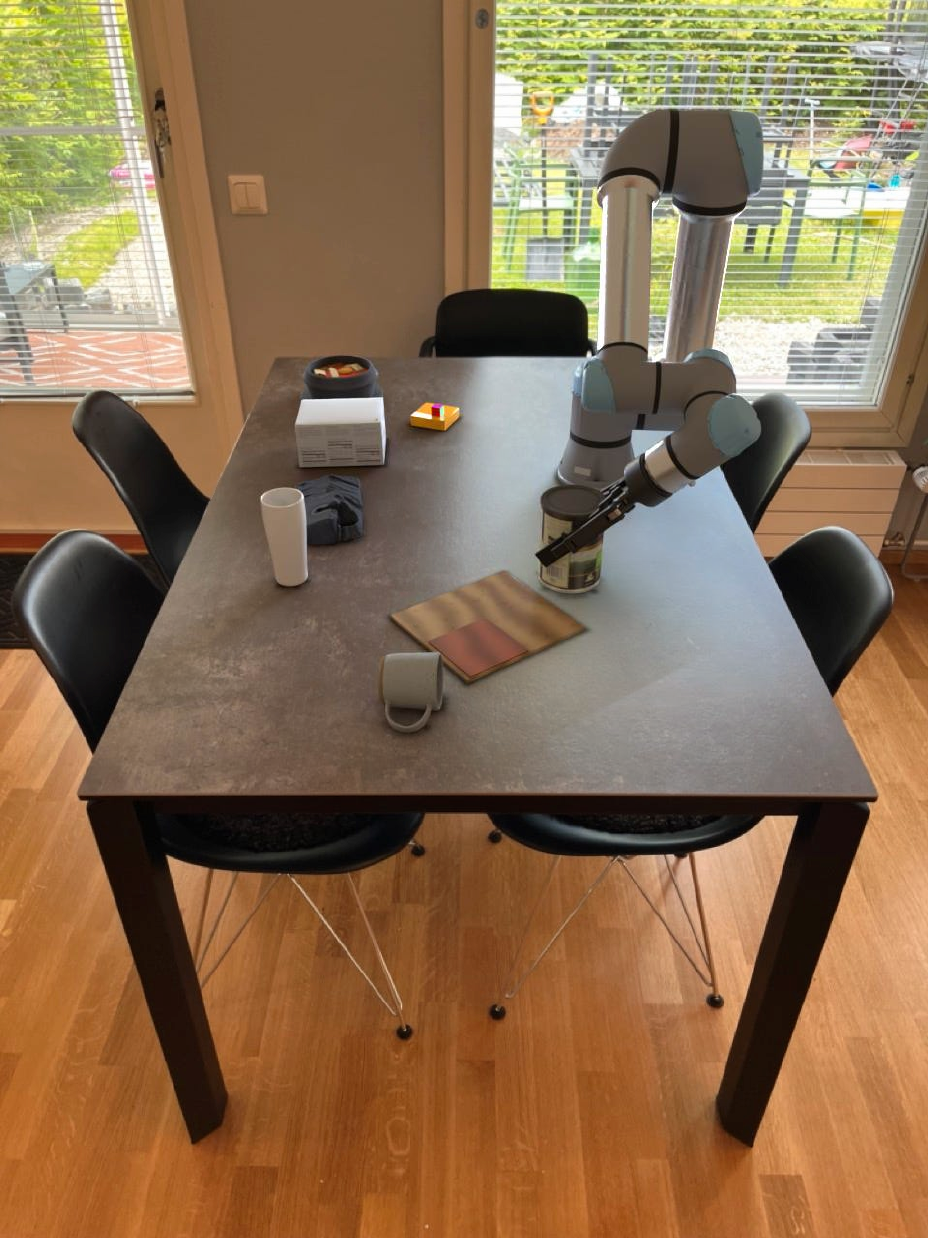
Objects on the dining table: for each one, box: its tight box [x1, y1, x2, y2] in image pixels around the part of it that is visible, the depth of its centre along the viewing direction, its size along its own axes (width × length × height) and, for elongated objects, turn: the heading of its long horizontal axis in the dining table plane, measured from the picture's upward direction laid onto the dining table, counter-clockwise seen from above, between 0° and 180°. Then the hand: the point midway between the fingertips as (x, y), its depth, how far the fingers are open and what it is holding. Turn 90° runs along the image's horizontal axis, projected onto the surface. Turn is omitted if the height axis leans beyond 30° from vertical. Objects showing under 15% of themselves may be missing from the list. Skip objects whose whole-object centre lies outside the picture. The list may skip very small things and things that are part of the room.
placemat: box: [390, 570, 586, 684], centre depth 147 cm, size 22×20×1 cm
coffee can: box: [537, 484, 607, 594], centre depth 153 cm, size 10×10×14 cm
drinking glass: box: [259, 487, 309, 587], centre depth 154 cm, size 7×7×15 cm
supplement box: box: [294, 396, 387, 468], centre depth 195 cm, size 17×13×9 cm
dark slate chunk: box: [293, 473, 364, 546], centre depth 175 cm, size 15×22×5 cm
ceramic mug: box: [377, 652, 444, 734], centre depth 129 cm, size 11×8×8 cm
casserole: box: [299, 354, 384, 401], centre depth 217 cm, size 25×19×8 cm
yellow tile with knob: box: [410, 402, 460, 432], centre depth 209 cm, size 8×8×4 cm
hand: (552, 543), depth 155 cm, fingers closed on coffee can, 10 cm apart
